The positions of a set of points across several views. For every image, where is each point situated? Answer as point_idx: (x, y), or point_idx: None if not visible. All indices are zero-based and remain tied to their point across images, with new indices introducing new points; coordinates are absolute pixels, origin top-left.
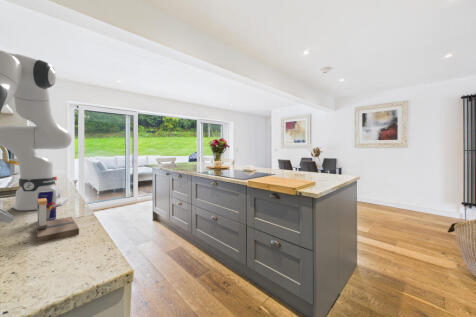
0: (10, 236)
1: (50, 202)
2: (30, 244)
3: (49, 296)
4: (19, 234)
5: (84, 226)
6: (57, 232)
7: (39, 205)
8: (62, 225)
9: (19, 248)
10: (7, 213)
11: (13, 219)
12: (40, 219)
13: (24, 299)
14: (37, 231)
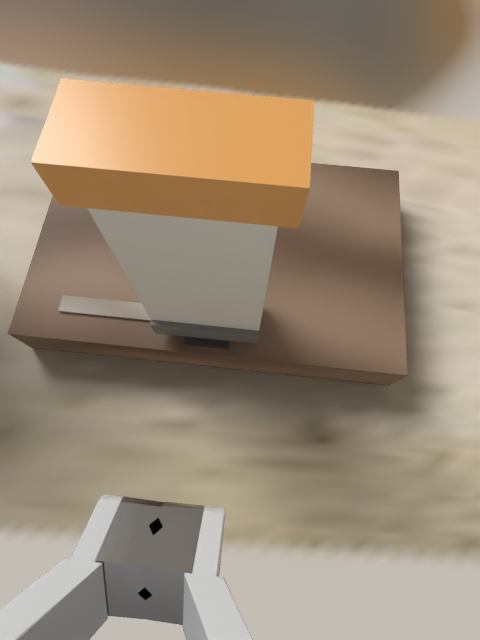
0: (78, 499)
1: None
2: (375, 418)
3: None
4: (84, 446)
5: None
6: (396, 270)
7: (276, 222)
8: None
9: (407, 477)
10: (89, 579)
11: (224, 509)
12: (263, 302)
13: None
14: (266, 356)
